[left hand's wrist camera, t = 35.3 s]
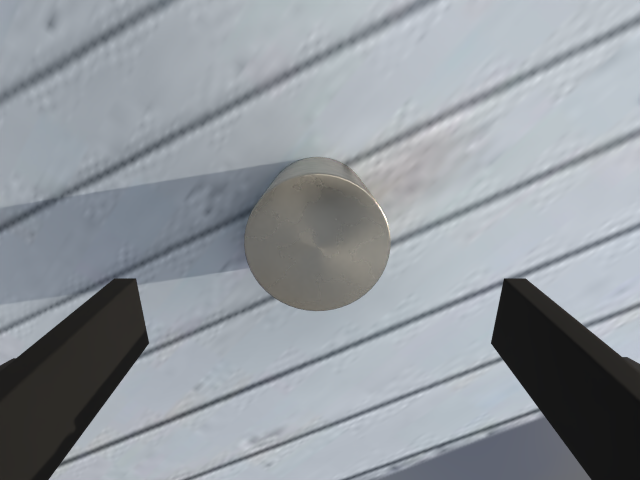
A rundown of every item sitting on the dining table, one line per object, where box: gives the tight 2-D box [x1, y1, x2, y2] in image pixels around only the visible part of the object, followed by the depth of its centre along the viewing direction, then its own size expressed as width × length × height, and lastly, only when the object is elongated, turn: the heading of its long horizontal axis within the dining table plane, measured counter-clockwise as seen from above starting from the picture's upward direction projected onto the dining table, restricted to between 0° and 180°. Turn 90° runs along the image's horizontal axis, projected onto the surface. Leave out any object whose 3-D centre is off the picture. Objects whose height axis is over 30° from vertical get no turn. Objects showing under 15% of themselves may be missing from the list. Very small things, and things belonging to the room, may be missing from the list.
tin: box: [244, 157, 390, 311], centre depth 25 cm, size 9×9×9 cm
